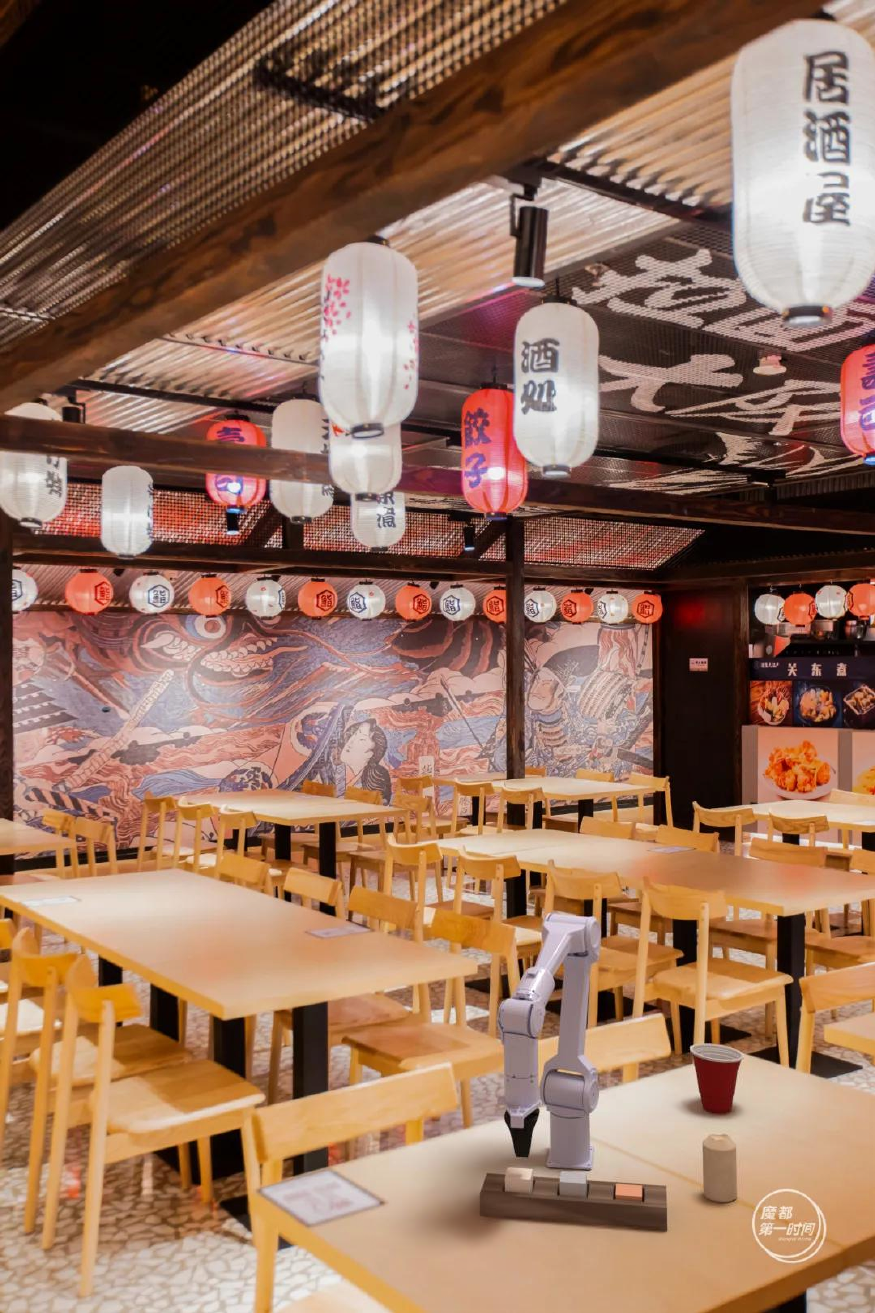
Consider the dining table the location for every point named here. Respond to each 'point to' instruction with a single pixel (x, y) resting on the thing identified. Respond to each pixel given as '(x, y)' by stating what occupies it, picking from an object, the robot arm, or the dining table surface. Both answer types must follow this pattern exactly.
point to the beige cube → (519, 1180)
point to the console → (575, 1204)
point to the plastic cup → (716, 1075)
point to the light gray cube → (573, 1184)
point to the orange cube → (628, 1192)
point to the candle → (719, 1168)
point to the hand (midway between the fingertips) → (522, 1156)
